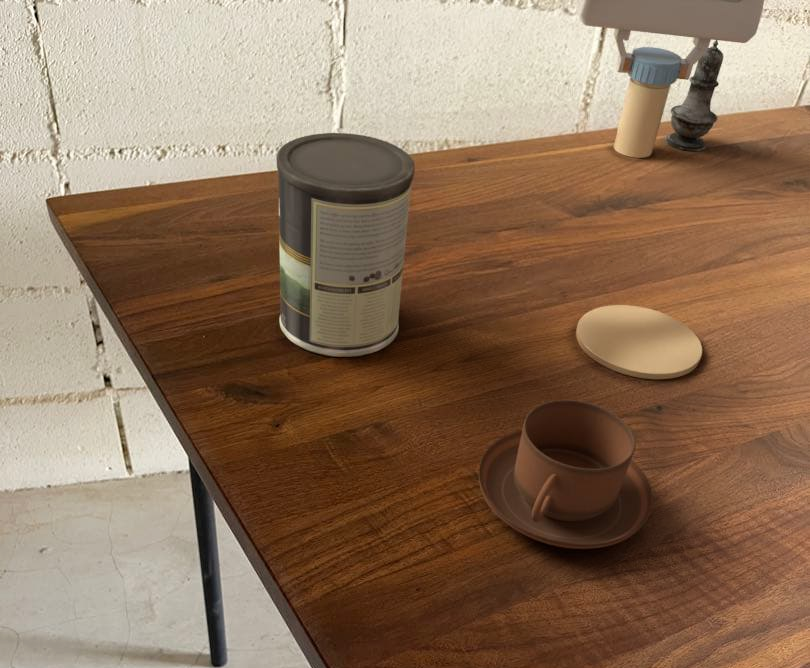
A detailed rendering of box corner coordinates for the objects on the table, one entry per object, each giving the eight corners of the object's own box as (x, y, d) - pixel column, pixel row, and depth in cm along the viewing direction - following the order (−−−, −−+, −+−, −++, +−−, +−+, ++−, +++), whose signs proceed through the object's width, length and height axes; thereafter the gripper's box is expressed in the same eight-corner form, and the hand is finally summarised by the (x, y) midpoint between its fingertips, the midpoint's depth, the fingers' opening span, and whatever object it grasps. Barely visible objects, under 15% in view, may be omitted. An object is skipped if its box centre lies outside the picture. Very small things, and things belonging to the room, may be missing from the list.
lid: (624, 65, 106) (629, 44, 104) (672, 70, 106) (678, 49, 104) (630, 82, 102) (635, 61, 100) (679, 88, 102) (685, 66, 100)
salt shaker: (655, 142, 113) (684, 38, 104) (672, 130, 116) (702, 29, 108) (698, 156, 111) (731, 51, 102) (714, 143, 114) (748, 41, 106)
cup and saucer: (646, 580, 57) (675, 510, 53) (464, 545, 58) (478, 474, 54) (643, 464, 66) (668, 396, 62) (484, 435, 67) (498, 366, 62)
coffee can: (255, 333, 74) (249, 163, 64) (317, 282, 81) (320, 121, 71) (364, 372, 71) (375, 201, 61) (419, 316, 78) (437, 154, 68)
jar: (658, 150, 111) (682, 64, 103) (640, 161, 108) (664, 73, 101) (625, 138, 113) (646, 53, 105) (606, 148, 110) (627, 61, 103)
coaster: (720, 344, 79) (723, 338, 79) (665, 396, 73) (667, 389, 72) (613, 297, 83) (615, 291, 83) (552, 342, 77) (553, 335, 76)
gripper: (776, -61, 97) (731, 75, 107) (591, -82, 96) (564, 56, 106) (792, -47, 92) (744, 93, 102) (599, -70, 92) (569, 74, 101)
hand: (651, 74), depth 104 cm, fingers closed on lid, 5 cm apart
